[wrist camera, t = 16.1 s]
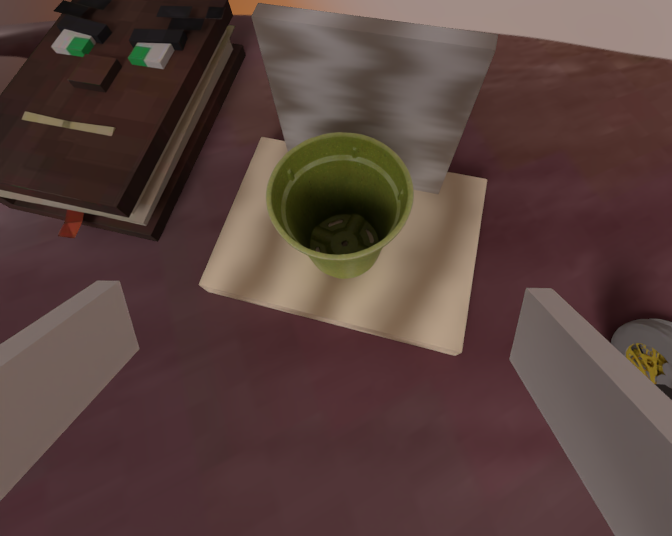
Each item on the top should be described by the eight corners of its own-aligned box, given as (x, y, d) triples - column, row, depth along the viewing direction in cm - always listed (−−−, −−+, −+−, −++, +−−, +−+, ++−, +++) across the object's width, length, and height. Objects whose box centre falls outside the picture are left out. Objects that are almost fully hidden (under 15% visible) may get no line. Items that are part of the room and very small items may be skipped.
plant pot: (312, 316, 29) (294, 282, 20) (275, 221, 32) (247, 159, 24) (417, 274, 29) (440, 225, 21) (371, 185, 33) (376, 113, 25)
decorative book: (-98, 185, 29) (81, -42, 39) (-9, 227, 36) (123, 26, 46) (109, 232, 26) (243, -24, 36) (161, 268, 33) (262, 45, 43)
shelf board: (207, 291, 32) (77, 193, 17) (266, 150, 37) (206, -20, 22) (454, 355, 29) (561, 304, 14) (480, 191, 34) (576, 26, 19)
